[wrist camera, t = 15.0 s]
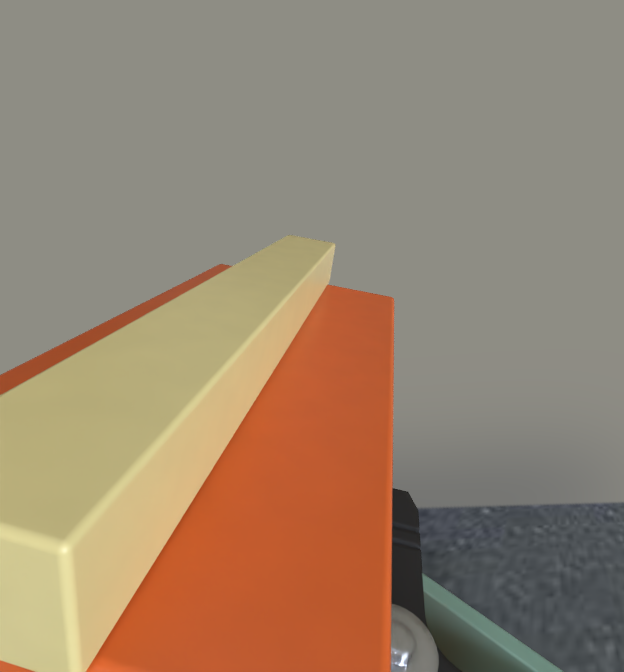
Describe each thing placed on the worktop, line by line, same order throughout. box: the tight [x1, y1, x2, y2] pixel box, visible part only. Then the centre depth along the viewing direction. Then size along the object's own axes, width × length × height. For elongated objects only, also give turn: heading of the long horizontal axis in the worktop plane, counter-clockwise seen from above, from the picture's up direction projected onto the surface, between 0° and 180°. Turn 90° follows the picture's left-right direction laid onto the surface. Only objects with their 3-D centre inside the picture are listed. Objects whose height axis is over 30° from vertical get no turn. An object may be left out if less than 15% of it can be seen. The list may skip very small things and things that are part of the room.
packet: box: [0, 235, 394, 672], centre depth 8 cm, size 4×9×12 cm, turn 170°
